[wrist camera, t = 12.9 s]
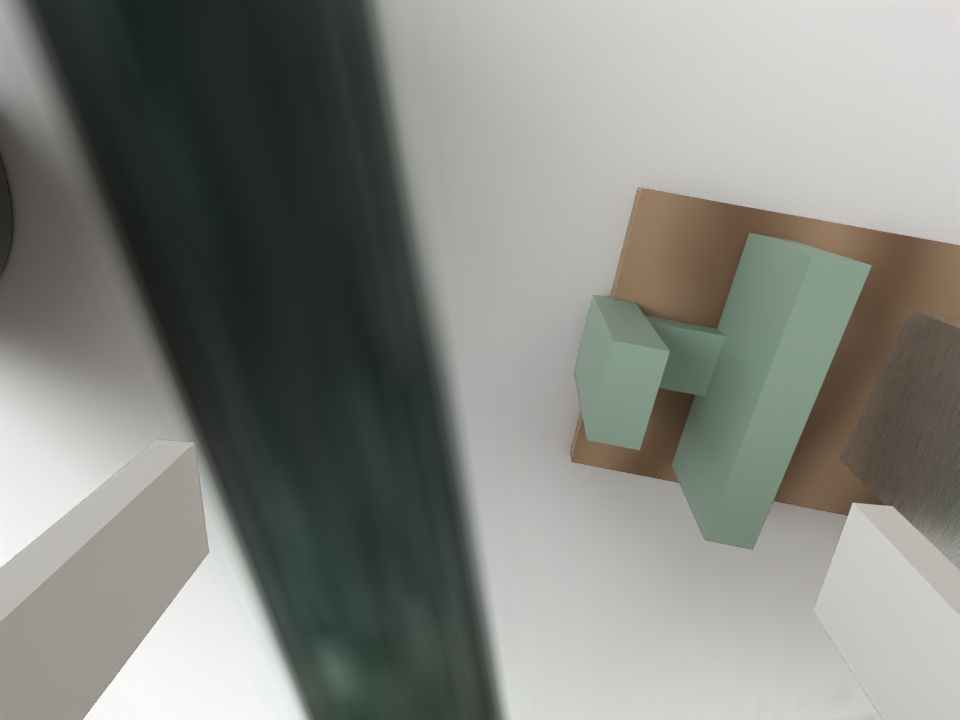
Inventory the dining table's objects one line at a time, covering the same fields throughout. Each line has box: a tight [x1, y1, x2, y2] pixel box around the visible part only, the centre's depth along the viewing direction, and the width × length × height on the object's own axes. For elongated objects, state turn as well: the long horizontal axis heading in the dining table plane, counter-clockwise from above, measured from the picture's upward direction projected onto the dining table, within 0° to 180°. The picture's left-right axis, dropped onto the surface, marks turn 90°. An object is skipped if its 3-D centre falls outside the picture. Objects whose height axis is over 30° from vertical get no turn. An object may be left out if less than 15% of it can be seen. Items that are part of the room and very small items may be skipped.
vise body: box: [570, 188, 960, 515], centre depth 24 cm, size 22×14×8 cm, turn 80°
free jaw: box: [574, 233, 872, 549], centre depth 24 cm, size 8×12×7 cm, turn 170°
